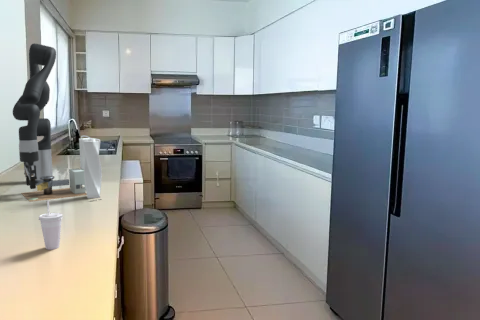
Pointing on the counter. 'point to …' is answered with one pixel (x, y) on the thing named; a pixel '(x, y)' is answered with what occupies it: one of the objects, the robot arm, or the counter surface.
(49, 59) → the robot arm
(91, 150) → the skyscraper
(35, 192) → the walnut board
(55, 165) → the counter surface
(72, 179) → the stand
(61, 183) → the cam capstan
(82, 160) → the cylindrical container
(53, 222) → the smoothie
